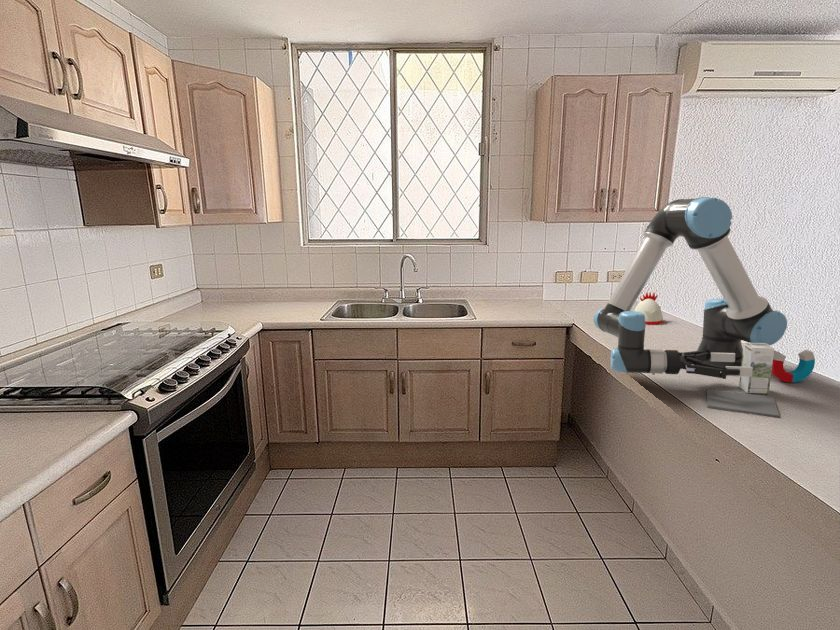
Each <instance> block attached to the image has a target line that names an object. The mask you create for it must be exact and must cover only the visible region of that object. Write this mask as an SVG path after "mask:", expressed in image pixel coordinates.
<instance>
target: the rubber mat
mask: <svg viewBox="0 0 840 630" xmlns="http://www.w3.org/2000/svg"><path fill="white" fill-rule="evenodd" d="M706 389H707V390H706V401H707V404H706V405H707V406H706V407H707V409H714V408H715V409H716V410H721V409H723V410H722V411H728V410H730V412H735V411H737V413H742V412H743V414H749V413H752V414H751V415H756V414H757V416H764V417H772V418H780V414H779V410H778V408H777V406H776V405H777V404H776V402H775V399H774V397H773V396H771V395H770V396H769V395H763V394H749V393H746V392H745V393H744V392H735V391H728V390H720V389H714V388H713V389H711V388H706Z"/></svg>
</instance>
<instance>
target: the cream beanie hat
mask: <svg viewBox="0 0 840 630" xmlns="http://www.w3.org/2000/svg"><path fill="white" fill-rule="evenodd" d="M642 297H643V298H642ZM642 297H641V296H639V299H640V301H639V302H638V304H637V305H636V307H635V308H634V310H633V311H636V312H641V313H643V314H644V315H645V325H646V326H649V325H650V326H655V325H661V324H663V322H664V317H663V312H662V309H661V306H660V304H658V302H656V300H657V298H658V294H656V293H655V292H653V293H651V292H650V291H649V293H648V292H647V291H646V293H645V294H642Z"/></svg>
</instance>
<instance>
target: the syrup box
mask: <svg viewBox="0 0 840 630" xmlns="http://www.w3.org/2000/svg"><path fill="white" fill-rule="evenodd" d="M742 347H743V354H742V364H741V366H740V367H752V368H753V371H752V377H745V376H739V383H738V387H739V388H740V389H741V390H743V391H744V392H745V393H746V394H754V395H769V394H770V386H771V385H770V384H771V378H772V373H771V371H772V364H773V356H774V350H775V348H774V347H773V346H772V345H768V344H766V343H749V342H743V344H742Z"/></svg>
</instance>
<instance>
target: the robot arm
mask: <svg viewBox="0 0 840 630" xmlns="http://www.w3.org/2000/svg"><path fill="white" fill-rule="evenodd" d="M732 220H733V213H732V209H731V207H730V206H729V205H728V204H727V203H726V202H725V200H722V199H721V198H717V197H709V196H702V197H697V198H680V199H675V200H672V201H670V202H669V203H666V204H665V205H664V206H663V207H661V209H659V210H658V212H656V214H655V215H654V216H653V217H652V219H651V220H650V221H649V224H648V225H647V226H646V229H645V230H644V231H643V237H644V238H643V240H642V242H641V243H640V245H639V246H638V249H637V250H636V252H635V254H634V256H633V258H632V260H631V261H630V263H629V265H628V266H627V268H626V270H625V272H624V273H623V276H622V277H621V279H620V281H619V282H618V284H617V286H616V288H615V290H614V292H613V293H612V295H611V297H610V298H609V300H608V302H607V304H606V306H605V307H604V308H600V309H599V310H596V312H595V313H594V315H593V323H594V324H593V325H594V326H595V327H596V328H597V329H598V330H601V331H602V332H604V333H607V334H609V335H611V336H614V337H616V338H617V347H616V348H612V349H611V350H610V359H609V360H610V368H611V370H612V371H613V372H617V373H618V372H619V373H626V374H628V373H632V374H633V373H634V374H635V373H636V374H651V375H652V376H654V375H655V374H659V375H660V374H665V375H678V374H680V371H681V370H685V371H686V374H691V375H692V374H693V375H694V374H695V375H700V376H706V377H713V378H718V379H723V380H726V379H727V377H740V376H745V377H752V371H753V368H752V367H741V364H742V354H743V344H742V341H743V342H745V343H766V344H768V345H770V346H772V345H775V344H776V343H778V342H779V341H780V340H781V339H782V338H783V336H784V335H785V332H786V330H787V328H788V319H787V317H786V315H785V314H784V313H782V312H781V311H779V310H774V309H772V306H771V305H770V303H769V301H768V299H767V298H766V297H764V296H760V295H759V294H758V291H756V288H755V286H754V285H753V283H752V281H751V279H750V277H749V274H748V273H747V272H746V269H745V268H744V265H743V263H742V262H741V259H740V258H739V255H738V254H737V252H736V250H735V249H734V246H733V244H732V242H731V241H730V239H729V235H730V233H731V231H732V230H731V225H732V223H733V222H732ZM680 237H683V238H684V240H685V242H686V243H687V246H688V247H689V248H690V250H694V251H697V252H698V254H699V255H700V257H701V260H702V261H703V262H704V264H705V266H706V269H707V270H708V272H709V274H710V275H711V277H712V280H713V282H714V283H715V284H716V287H717V289H718V290H719V292H720V294H721V295H722V298H721V297H719V298H711V299H708V300H706V301H705V303H704V309H703V324H702V337H701V341H700V343H699V346H698V347H697V350H694V351H684V352H679V350H676V349H665V350H663V349H648V348H647V349H645V335H646V334H645V333H646V327H647V325H645V315H644V314H643V313H641V312H636V311H634V310H632V309H633V307H634V305H635V303H636V302H637V299H638V298H639V297H640V295H641V293H642V291H643V289H644V288H645V286H646V284H647V282H648V281H649V279H650V277H651V275H652V274H653V272H654V271H655V269H656V267H657V265H658V264H659V262H660V261H661V259H662V257H663V255H664V253H665V252H666V250H667V248H669V247H672V246H673V244H674V243H675V241H676V240H677V238H680Z"/></svg>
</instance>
